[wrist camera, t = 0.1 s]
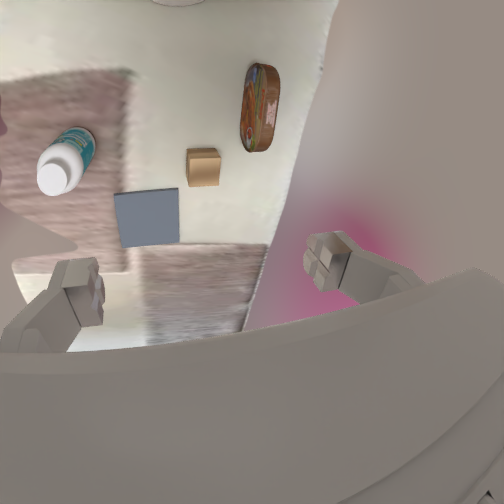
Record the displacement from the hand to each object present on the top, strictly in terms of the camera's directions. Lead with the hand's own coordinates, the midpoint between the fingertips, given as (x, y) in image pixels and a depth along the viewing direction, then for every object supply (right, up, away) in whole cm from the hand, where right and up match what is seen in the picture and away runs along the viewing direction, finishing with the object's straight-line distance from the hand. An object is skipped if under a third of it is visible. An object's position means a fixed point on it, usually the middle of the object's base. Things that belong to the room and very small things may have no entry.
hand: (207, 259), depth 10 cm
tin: (+1, +26, +33) cm, 42 cm away
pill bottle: (-28, +18, +27) cm, 43 cm away
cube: (-8, +16, +37) cm, 41 cm away
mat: (-18, +7, +41) cm, 45 cm away
